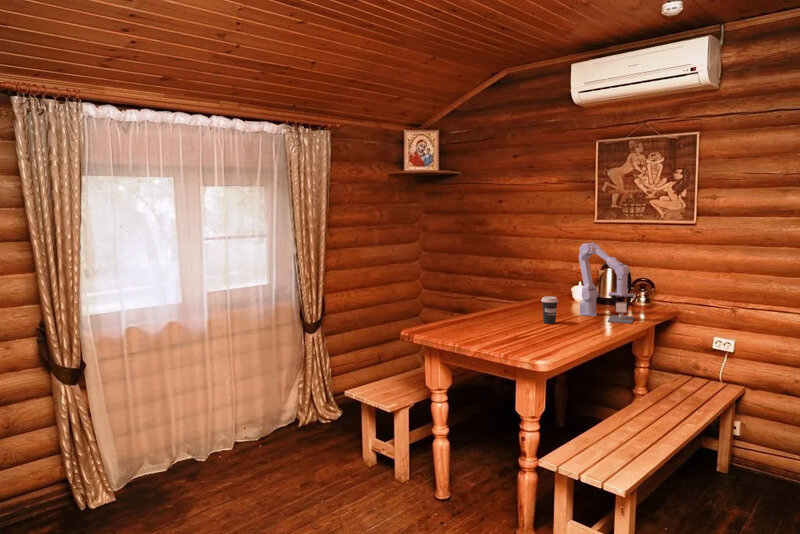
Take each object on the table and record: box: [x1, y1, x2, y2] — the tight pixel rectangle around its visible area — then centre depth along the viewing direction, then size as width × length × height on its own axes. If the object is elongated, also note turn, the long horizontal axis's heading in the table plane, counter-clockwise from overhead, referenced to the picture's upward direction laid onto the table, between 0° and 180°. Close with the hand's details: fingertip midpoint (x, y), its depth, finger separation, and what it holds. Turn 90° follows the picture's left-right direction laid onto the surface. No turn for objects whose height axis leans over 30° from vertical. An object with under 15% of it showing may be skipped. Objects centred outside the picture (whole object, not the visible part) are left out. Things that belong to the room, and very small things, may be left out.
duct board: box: [607, 312, 635, 325], centre depth 336 cm, size 13×18×4 cm
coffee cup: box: [540, 295, 559, 325], centre depth 331 cm, size 10×10×15 cm
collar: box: [615, 301, 628, 314], centre depth 335 cm, size 6×6×5 cm
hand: (621, 308), depth 336 cm, fingers closed on collar, 6 cm apart
